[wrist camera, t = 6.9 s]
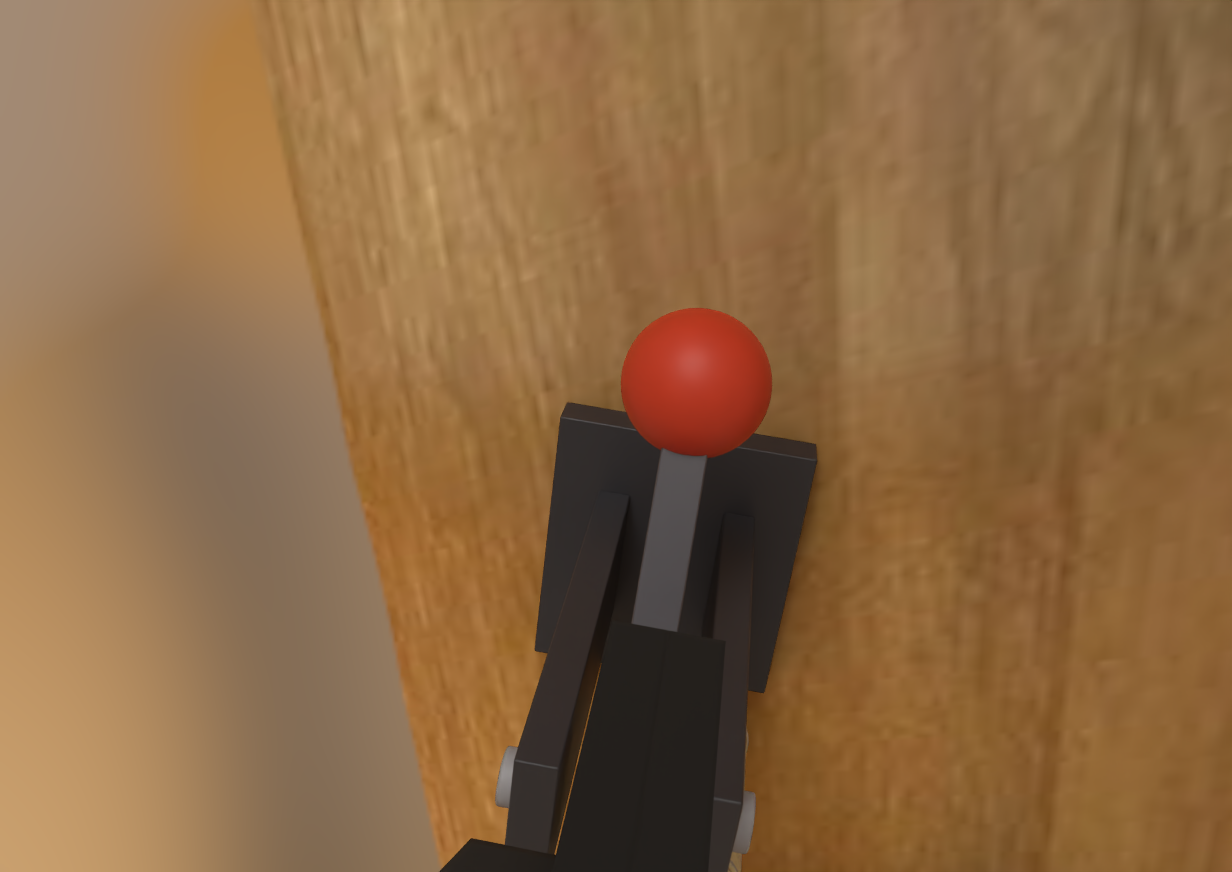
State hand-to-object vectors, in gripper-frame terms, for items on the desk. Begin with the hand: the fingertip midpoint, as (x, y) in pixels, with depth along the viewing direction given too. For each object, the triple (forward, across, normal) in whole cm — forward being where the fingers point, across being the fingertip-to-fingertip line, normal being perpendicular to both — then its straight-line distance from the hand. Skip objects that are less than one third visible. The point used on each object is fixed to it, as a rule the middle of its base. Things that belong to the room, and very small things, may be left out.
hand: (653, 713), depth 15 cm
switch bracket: (+20, 0, -9) cm, 22 cm away
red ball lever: (+12, 0, -6) cm, 13 cm away
